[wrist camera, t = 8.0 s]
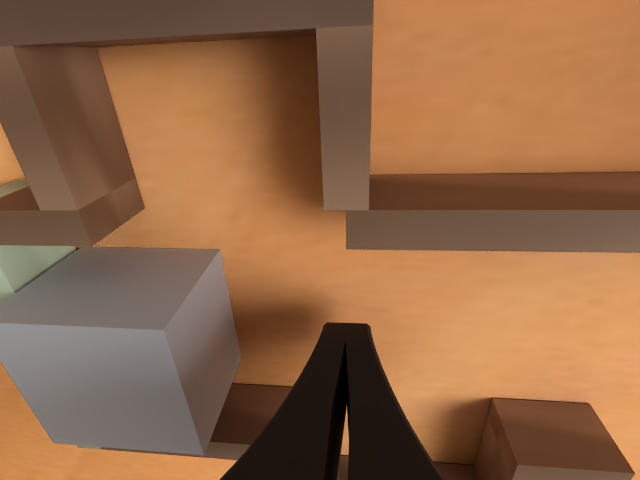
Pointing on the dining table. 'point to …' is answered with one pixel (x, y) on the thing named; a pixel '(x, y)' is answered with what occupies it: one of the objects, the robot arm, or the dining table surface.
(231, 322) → the block
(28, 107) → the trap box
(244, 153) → the dining table surface
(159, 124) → the dining table surface
